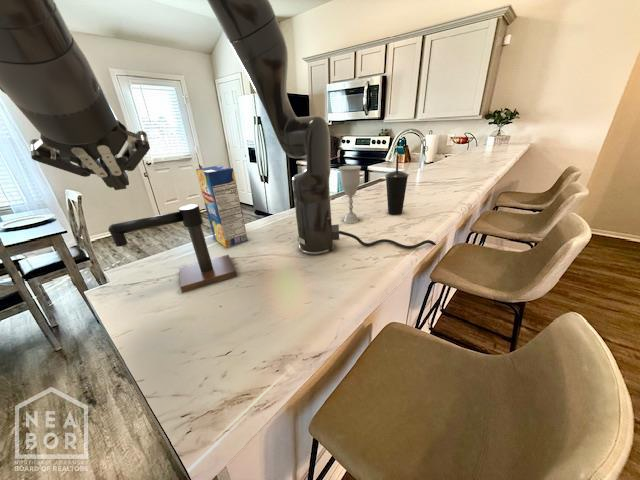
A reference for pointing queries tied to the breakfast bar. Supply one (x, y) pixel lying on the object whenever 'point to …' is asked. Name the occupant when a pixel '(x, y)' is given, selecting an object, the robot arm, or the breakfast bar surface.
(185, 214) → the spout
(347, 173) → the chalice
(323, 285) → the breakfast bar surface
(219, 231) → the blue and yellow box
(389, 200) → the drinking cup
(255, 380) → the breakfast bar surface
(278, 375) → the breakfast bar surface
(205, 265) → the base
